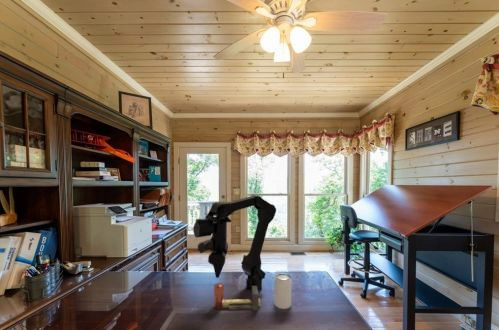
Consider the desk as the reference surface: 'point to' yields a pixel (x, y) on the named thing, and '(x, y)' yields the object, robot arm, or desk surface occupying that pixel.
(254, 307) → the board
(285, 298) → the can
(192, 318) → the desk surface
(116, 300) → the desk surface
